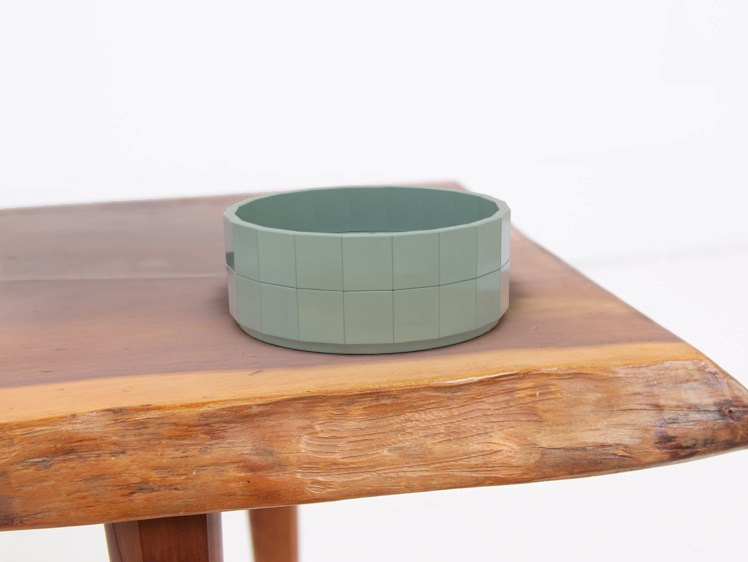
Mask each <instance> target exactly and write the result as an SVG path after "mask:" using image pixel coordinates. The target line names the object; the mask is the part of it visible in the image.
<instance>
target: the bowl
mask: <svg viewBox="0 0 748 562" xmlns="http://www.w3.org/2000/svg"><path fill="white" fill-rule="evenodd" d="M511 214H512V210H511V208H510V206H509V205H508V204H507V202H506V200H502V199H500V198H497V197H494V196H491V195H489V194H485V193H481V192H475V191H470V190H465V189H459V188H449V187H437V186H429V185H428V186H426V185H403V184H401V185H399V184H364V185H363V184H362V185H335V186H322V187H321V186H320V187H309V188H300V189H293V190H292V189H291V190H285V191H284V190H283V191H277V192H271V193H267V194H266V193H265V194H261V195H257V196H253V197H247V198H246V199H243V200H240V201H238V202H235V203H233V204H231V205H229V206H228V207H227V208H226V210H225V211H224V213H222V219H223V234H224V236H223V237H224V249H225V262H226V263H225V264H226V279H227V295H228V310H229V311H228V312H229V314H230V315H231V317H233V319H234V320H235V321H236V322H237V324H238V326H239V327H240V328H241V330H242V331H243V332H245V333H246V334H247V335H248V336H250V337H253V338H255V339H256V340H259V341H262V342H265V343H268V344H271V345H275V346H278V347H281V348H287V349H293V350H299V351H305V352H313V353H325V354H343V355H378V354H379V355H380V354H395V353H396V354H397V353H408V352H409V353H410V352H415V351H424V350H431V349H436V348H437V349H438V348H442V347H446V346H452V345H456V344H459V343H463V342H465V341H469V340H471V339H474V338H477V337H479V336H482V335H484V334H485V333H487V332H489V331H491V330H492V329H494V328H495V327H496V325H497V324H498V323H499V322H500V319H501V318H502V316H504V314H505V313H506V312H507V310H508V309H509V307H510V266H511V265H510V264H511V262H510V261H511V260H510V257H511V219H512V218H511V216H512V215H511Z"/></svg>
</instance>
